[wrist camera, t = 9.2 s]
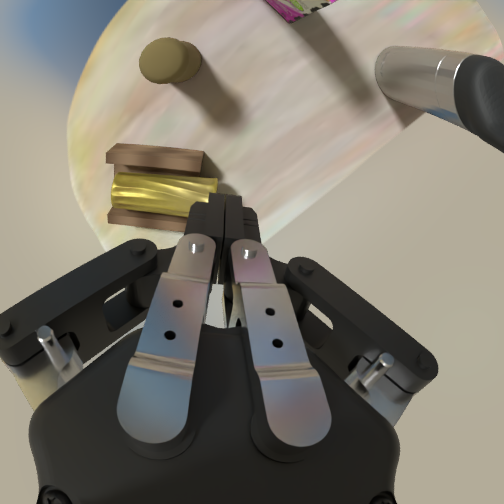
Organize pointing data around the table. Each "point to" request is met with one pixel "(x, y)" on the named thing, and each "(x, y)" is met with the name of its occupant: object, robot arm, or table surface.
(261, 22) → the table surface
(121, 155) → the u rest
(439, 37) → the table surface
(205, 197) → the vase
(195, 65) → the cork
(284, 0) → the candy bar box
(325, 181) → the table surface
